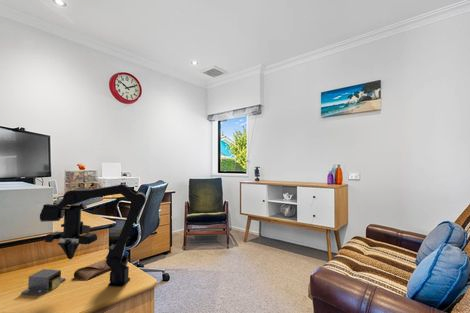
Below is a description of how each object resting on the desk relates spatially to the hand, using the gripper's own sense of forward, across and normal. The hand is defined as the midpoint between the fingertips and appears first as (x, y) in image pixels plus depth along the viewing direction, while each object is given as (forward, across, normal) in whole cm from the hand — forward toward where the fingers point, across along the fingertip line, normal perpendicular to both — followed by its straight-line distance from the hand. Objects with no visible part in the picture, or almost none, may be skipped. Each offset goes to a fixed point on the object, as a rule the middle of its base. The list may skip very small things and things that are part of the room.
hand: (70, 258), depth 97 cm
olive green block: (+12, +9, 0) cm, 15 cm away
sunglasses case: (+13, -2, -16) cm, 20 cm away
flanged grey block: (+12, +11, 0) cm, 16 cm away
